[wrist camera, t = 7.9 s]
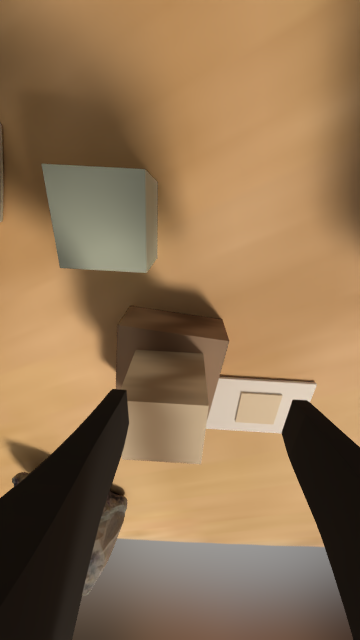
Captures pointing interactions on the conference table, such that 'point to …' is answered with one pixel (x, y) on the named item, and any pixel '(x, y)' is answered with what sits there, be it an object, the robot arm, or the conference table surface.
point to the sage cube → (103, 217)
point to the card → (255, 403)
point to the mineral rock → (100, 534)
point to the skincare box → (1, 175)
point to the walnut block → (172, 340)
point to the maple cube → (166, 407)
